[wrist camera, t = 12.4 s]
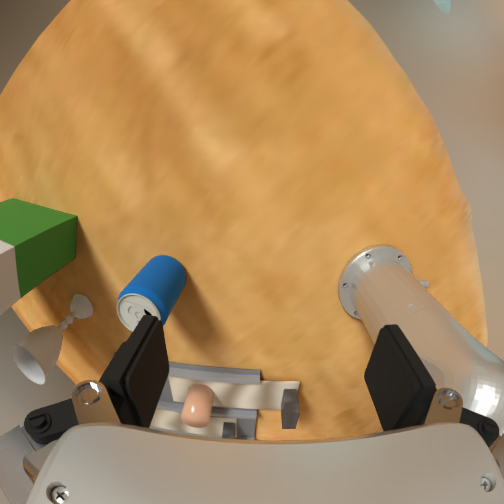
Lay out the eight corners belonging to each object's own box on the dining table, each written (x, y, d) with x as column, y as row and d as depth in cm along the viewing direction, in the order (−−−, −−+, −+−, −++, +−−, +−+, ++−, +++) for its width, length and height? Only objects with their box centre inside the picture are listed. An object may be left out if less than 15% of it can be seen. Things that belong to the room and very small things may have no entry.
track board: (260, 369, 47) (260, 378, 45) (254, 438, 55) (253, 445, 53) (115, 352, 48) (110, 359, 46) (140, 423, 56) (137, 429, 54)
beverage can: (176, 299, 43) (152, 346, 32) (141, 278, 42) (107, 319, 31) (195, 268, 41) (172, 311, 30) (157, 245, 40) (123, 280, 29)
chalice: (67, 283, 43) (6, 337, 26) (97, 295, 43) (39, 358, 26) (69, 314, 45) (17, 371, 28) (97, 327, 46) (49, 391, 29)
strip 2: (299, 381, 47) (302, 408, 41) (293, 407, 50) (295, 432, 44) (168, 372, 47) (159, 397, 41) (174, 398, 50) (166, 423, 44)
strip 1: (236, 416, 51) (234, 441, 45) (236, 435, 54) (234, 458, 48) (129, 401, 52) (119, 422, 45) (137, 421, 54) (129, 441, 48)
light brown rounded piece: (213, 385, 47) (208, 413, 41) (214, 401, 49) (210, 429, 42) (186, 382, 47) (178, 410, 41) (189, 398, 49) (182, 425, 42)
